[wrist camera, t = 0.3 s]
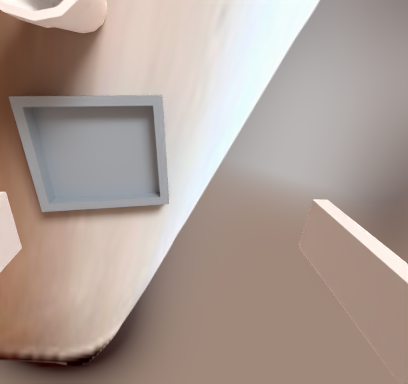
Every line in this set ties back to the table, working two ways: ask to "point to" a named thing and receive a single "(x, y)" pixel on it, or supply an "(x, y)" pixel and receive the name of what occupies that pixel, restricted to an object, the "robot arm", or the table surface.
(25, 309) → the table surface
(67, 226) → the table surface
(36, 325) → the table surface
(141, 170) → the tray
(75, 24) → the foam cup
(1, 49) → the table surface
